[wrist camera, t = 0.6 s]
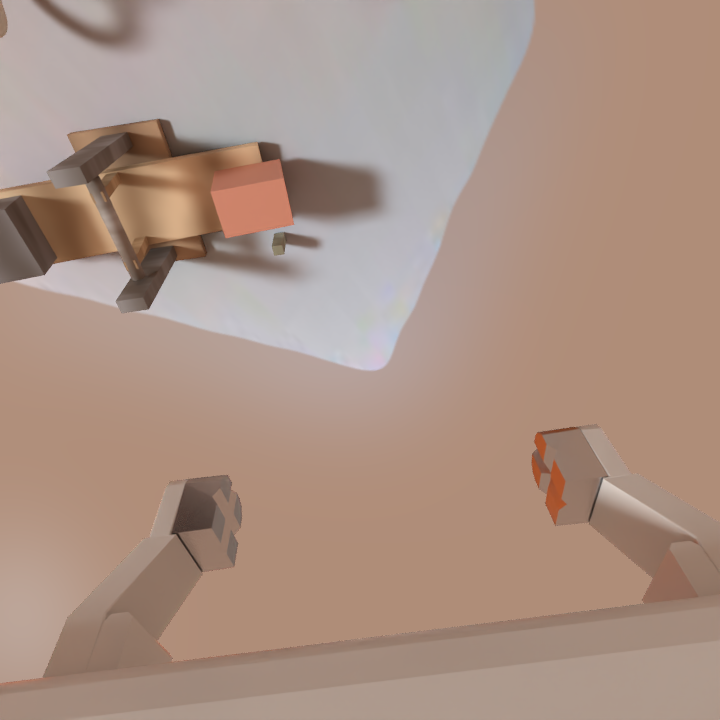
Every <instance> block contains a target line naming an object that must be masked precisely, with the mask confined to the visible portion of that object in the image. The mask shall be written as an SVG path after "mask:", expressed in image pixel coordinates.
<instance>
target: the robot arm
mask: <svg viewBox="0 0 720 720" xmlns="http://www.w3.org/2000/svg"><path fill="white" fill-rule="evenodd" d="M534 443H535V445H536V447H537V450H535V451H534V452H533V454H532V470H533V475H534V478H535V481H536V483H537V485H538V488H539V489H540V490H541V491H543V492H544V493H546V494H547V496H546V502H545V504H546V506H547V508H548V510H549V513H550V515H551V517H552V519H553V522H554V524H555V526H558V525H568V524H578V523H587V522H589V525H591V526H592V527H593V528H594V529H595V530H597V531H598V532H599V533H600V534H601V535H602V536H604V537H605V538H606V539H607V540H608V541H609V542H611V543H612V544H613V545H614V546H615V547H617V548H618V549H619V550H620V551H621V552H623V553H624V554H625V555H626V556H627V557H628V558H629V559H631V560H632V561H633V562H634V563H635V564H637V565H638V566H639V567H640V568H641V569H642V570H644V571H645V572H646V573H647V574H648V575H649V576H651V577H652V578H653V579H652V581H651V584H650V585H649V587H648V589H647V591H646V593H645V595H644V597H643V599H642V601H643V603H644V604H638V605H630V606H622V607H614V608H606V609H598V610H589V611H581V612H573V613H566V614H558V615H549V616H540V617H533V618H524V619H516V620H508V621H500V622H492V623H484V624H475V625H467V626H459V627H451V628H443V629H435V630H427V631H418V632H411V633H402V634H395V635H386V636H378V637H370V638H362V639H354V640H345V641H338V642H330V643H321V644H313V645H306V646H297V647H290V648H281V649H273V650H265V651H257V652H248V653H241V654H232V655H224V656H216V657H208V658H201V659H193V660H184V661H177V662H172V657H171V655H170V654H169V653H168V651H167V650H166V649H165V648H164V647H163V646H162V645H160V643H158V641H157V640H158V639H159V637H160V636H161V635H162V633H163V632H164V630H165V629H166V627H167V626H168V624H169V623H170V621H171V620H172V618H173V617H174V616H175V614H176V613H177V611H178V610H179V608H180V607H181V605H182V604H183V602H184V601H185V599H186V598H187V596H188V595H189V594H190V592H191V590H192V589H193V588H194V586H195V585H196V583H197V582H198V580H199V579H200V577H201V576H202V572H207V571H213V570H220V569H226V568H232V567H234V566H235V560H236V553H237V547H238V542H237V540H236V538H235V536H234V535H235V534H236V532H237V531H238V530H239V529H240V528H241V521H242V506H241V502H240V498H239V496H238V494H237V493H236V492H234V491H233V490H231V486H232V482H231V480H230V478H229V476H228V475H221V476H212V477H202V478H193V479H186V480H177V481H170V482H169V484H168V485H167V486H166V487H165V491H164V494H163V497H162V500H161V503H160V506H159V509H158V512H157V515H156V518H155V521H154V524H153V528H152V531H151V534H150V537H149V538H144V539H143V540H142V541H141V542H140V543H139V544H138V545H137V546H136V547H135V548H134V549H133V550H132V551H131V552H130V553H129V554H128V555H127V556H126V557H125V558H124V559H123V560H122V561H121V563H120V564H119V565H118V566H117V567H116V568H115V569H114V570H113V571H112V572H111V573H110V574H109V575H108V576H107V577H106V578H105V579H104V580H103V581H102V582H101V583H100V584H99V585H98V587H97V588H96V589H95V590H94V591H93V592H92V593H91V594H90V595H89V596H88V597H87V598H86V599H85V600H84V601H83V602H82V603H81V604H80V605H79V606H78V607H77V608H76V609H75V610H74V611H73V613H72V614H71V615H70V616H69V617H68V618H67V620H66V622H65V625H64V627H63V630H62V632H61V634H60V637H59V640H58V642H57V644H56V647H55V649H54V651H53V654H52V657H51V659H50V661H49V663H48V666H47V668H46V671H45V673H44V675H43V678H39V679H30V680H22V681H14V682H6V683H0V720H720V522H718V521H717V520H715V519H713V518H712V517H710V516H708V515H707V514H705V513H703V512H701V511H700V510H698V509H696V508H695V507H693V506H691V505H690V504H688V503H686V502H685V501H683V500H681V499H680V498H678V497H676V496H674V495H673V494H671V493H670V492H668V491H666V490H664V489H663V488H661V487H659V486H658V485H656V484H654V483H653V482H651V481H649V480H648V479H646V478H644V477H643V476H641V475H639V474H631V473H630V471H629V469H628V468H627V467H626V465H625V463H624V462H623V460H622V459H621V457H620V456H619V454H618V453H617V451H616V450H615V448H614V447H613V445H612V444H611V442H610V441H609V439H608V438H607V436H606V435H605V433H604V432H603V430H602V429H601V427H600V426H598V425H597V424H594V425H586V426H579V427H569V428H563V429H556V430H549V431H543V432H537V434H536V435H535V440H534Z"/></svg>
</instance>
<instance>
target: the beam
mask: <svg viewBox="0 0 720 720" xmlns="http://www.w3.org/2000/svg"><path fill="white" fill-rule="evenodd" d="M261 162H262V158H261V154H260V150H259V146H258V142H254V143H248V144H243V145H237V146H232V147H227V148H221V149H216V150H210V151H205V152H200V153H194V154H189V155H183V156H178V157H173V158H167V159H162V160H156V161H151V162H146V163H140V164H135V165H129V166H124V167H119V168H113V169H108V170H104V171H103V172H102V173H100V174H99V175H98V176H97V177H95V178H94V179H93V180H92V181H91V182H89V183H88V184H84V185H77V186H71V187H64V188H58V189H55V187H54V185H53V183H52V181H51V180H48V181H43V182H38V183H32V184H27V185H21V186H16V187H11V188H5V189H0V284H1V283H6V282H11V281H16V280H21V279H26V278H31V277H36V276H42V275H45V274H46V272H47V271H48V270H49V268H50V267H51V266H52V264H55V263H60V262H65V261H70V260H75V259H80V258H85V257H90V256H95V255H101V254H106V253H111V252H116V251H118V252H119V254H120V256H121V258H122V260H123V263H124V265H125V267H126V270H127V271H128V272H129V274H130V276H131V278H132V280H134V281H137V280H140V279H143V278H144V277H145V276H146V275H145V273H144V271H143V269H142V266H141V262H142V259H143V257H144V255H145V252H146V250H147V247H148V245H151V244H156V243H161V242H166V241H172V240H177V239H182V238H187V237H192V236H197V235H202V234H207V233H212V232H217V231H222V230H223V229H222V226H221V223H220V220H219V217H218V214H217V210H216V207H215V204H214V201H213V198H212V195H211V187H212V182H213V177H214V172H215V171H218V170H223V169H229V168H234V167H239V166H245V165H250V164H255V163H261Z"/></svg>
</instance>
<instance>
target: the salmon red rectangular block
mask: <svg viewBox="0 0 720 720" xmlns="http://www.w3.org/2000/svg"><path fill="white" fill-rule="evenodd" d="M211 195H212V198H213V201H214V204H215V207H216V210H217V214H218V217H219V220H220V223H221V226H222V229H223V232H224V235H225V238H229V237H234V236H239V235H244V234H249V233H254V232H259V231H265V230H270V229H275V228H280V227H285V226H290V225H294V222H293V217H292V212H291V207H290V203H289V198H288V194H287V189H286V185H285V180H284V176H283V171H282V167H281V162H280V159H277V160H271V161H266V162H261V163H255V164H250V165H245V166H239V167H234V168H229V169H223V170H218V171H215V172H214V177H213V182H212V187H211Z"/></svg>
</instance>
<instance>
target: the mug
mask: <svg viewBox="0 0 720 720" xmlns="http://www.w3.org/2000/svg"><path fill="white" fill-rule="evenodd" d="M6 32H7V18H6V14H5V11H4V8H3V5H2V2H1V0H0V38H2V37H3V36H4V35H5V34H6Z"/></svg>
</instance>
